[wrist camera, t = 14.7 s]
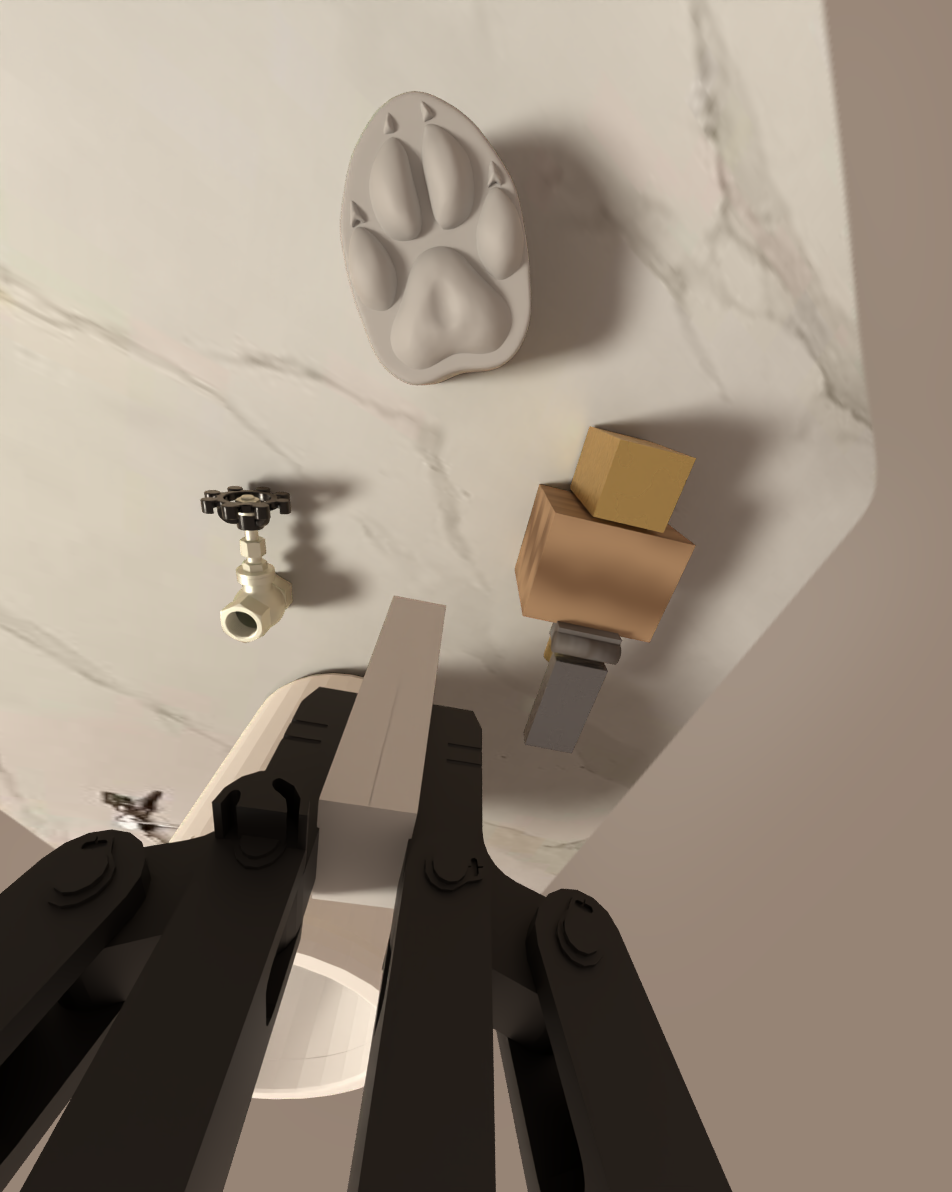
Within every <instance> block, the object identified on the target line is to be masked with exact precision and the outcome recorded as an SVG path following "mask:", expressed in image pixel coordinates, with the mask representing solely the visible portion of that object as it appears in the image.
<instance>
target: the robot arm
mask: <svg viewBox="0 0 952 1192" xmlns="http://www.w3.org/2000/svg"><path fill="white" fill-rule="evenodd" d="M445 610H446V605H441V604H435V603H430V602H425V601H420V600H414V599H409V598H404V597H399V596H394V597H393V600H392V602H391V605H390V608H389V610H388V613H387V616H386V619H385V621H384V624H383V627H382V629H381V632H380V635H379V638H378V640H377V643H376V646H375V648H374V651H373V654H372V657H371V659H370V662H369V665H368V667H367V670H366V673H365V676H364V678H363V681H362V684H361V686H360V689H359V692H358V693H354V692H348V691H342V690H336V689H330V688H325V687H318V688H317V689H316V690H315V691H313V692H312V693H311V694H310V695H308V696H307V697H306V698H305V699H303V700H302V701H301V703H300V705H299V707H298V709H297V711H296V713H295V715H294V716H293V718H292V722H291V723H290V724H289V726H288V728H287V730H286V732H285V734H284V737H283V739H281V741H280V743H279V745H278V747H277V749H276V751H275V753H274V754H273V756H272V758H271V760H270V762H269V764H268V766H267V768H266V770H265V771H258V772H255V773H252V774H248V775H245V776H242V777H240V778H239V779H237V780H235V781H234V782H232V783H231V784H229V785H227V786H226V787H224V789H223V790H222V791H221V792H220V793H219V794H218V795H217V797H216V798H215V799H214V800H213V801H212V811H213V821H214V831H213V832H211V833H209V834H206V835H204V836H201V837H197V838H193V839H189V840H184V841H178V842H172V843H166V844H160V845H154V846H148V847H143V844H142V842H141V841H140V840H139V839H137V838H136V837H135V836H134V835H132V834H131V833H129V832H123V831H118V830H105V831H99V832H92V833H88V834H86V835H83V836H81V837H78V838H76V839H73V840H71V841H69V842H66V843H64V844H63V845H61V846H60V847H58V848H57V849H55V850H54V851H52V852H51V853H49V854H48V855H46V856H45V857H44V858H42V859H41V860H40V861H39V862H37V863H36V864H35V865H34V866H33V867H31V868H30V869H29V870H28V871H27V872H25V873H24V874H23V875H22V876H21V877H20V878H18V879H17V880H16V881H15V882H14V883H12V884H11V885H10V886H9V887H8V888H7V889H5V890H4V891H3V892H2V893H1V894H0V1192H2V1191H3V1190H4V1188H5V1187H6V1186H7V1184H8V1183H9V1181H10V1180H11V1179H12V1178H13V1176H14V1175H15V1173H16V1172H17V1171H18V1169H19V1168H20V1166H21V1165H22V1164H23V1163H24V1161H25V1160H26V1159H27V1157H28V1156H29V1155H30V1153H31V1152H32V1150H33V1149H34V1148H35V1146H36V1145H37V1144H38V1142H39V1141H40V1140H41V1138H42V1137H43V1135H44V1134H45V1133H46V1132H47V1130H48V1129H49V1128H50V1126H51V1125H52V1123H53V1122H54V1121H55V1119H56V1118H57V1117H58V1115H59V1114H60V1113H61V1111H62V1110H63V1108H64V1107H65V1106H66V1105H67V1103H68V1102H69V1100H70V1099H71V1100H70V1102H69V1104H68V1105H67V1107H66V1109H65V1111H64V1113H63V1114H62V1116H61V1118H60V1120H59V1122H58V1123H57V1125H56V1127H55V1129H54V1131H53V1132H52V1134H51V1136H50V1138H49V1140H48V1142H47V1143H46V1145H45V1147H44V1149H43V1151H42V1152H41V1154H40V1156H39V1158H38V1160H37V1162H36V1163H35V1165H34V1167H33V1169H32V1171H31V1172H30V1174H29V1176H28V1178H27V1180H26V1181H25V1183H24V1185H23V1187H22V1188H21V1190H20V1192H223V1189H224V1185H225V1182H226V1179H227V1176H228V1173H229V1170H230V1166H231V1163H232V1160H233V1157H234V1153H235V1150H236V1147H237V1144H238V1140H239V1137H240V1134H241V1130H242V1127H243V1124H244V1121H245V1117H246V1114H247V1111H248V1108H249V1105H250V1102H251V1098H252V1095H253V1092H254V1089H255V1085H256V1082H257V1079H258V1076H259V1072H260V1069H261V1066H262V1063H263V1059H264V1056H265V1053H266V1050H267V1046H268V1043H269V1040H270V1037H271V1033H272V1030H273V1027H274V1024H275V1020H276V1017H277V1014H278V1011H279V1007H280V1004H281V1001H282V998H283V995H284V991H285V988H286V985H287V982H288V978H289V975H290V972H291V969H292V965H293V962H294V959H295V956H296V952H297V949H298V946H299V943H300V939H301V933H302V925H303V917H304V914H305V911H306V908H307V904H308V901H309V898H310V895H311V892H312V899H319V900H328V901H336V902H344V903H352V904H360V905H368V906H376V907H384V908H392V909H394V912H393V918H392V925H391V931H390V936H389V940H388V944H387V948H386V953H385V957H384V961H383V965H382V969H381V970H383V973H382V979H381V986H380V992H379V998H378V1004H377V1010H376V1016H375V1023H374V1029H373V1035H372V1041H371V1047H370V1054H369V1060H368V1066H367V1072H366V1078H365V1084H364V1091H363V1097H362V1103H361V1109H360V1115H359V1122H358V1128H357V1134H356V1140H355V1146H354V1153H353V1159H352V1165H351V1171H350V1178H349V1184H348V1190H347V1192H496V1183H495V1181H496V1180H495V1124H494V1067H493V1029H495V1030H496V1032H497V1036H498V1042H499V1047H500V1052H501V1057H502V1062H503V1067H504V1072H505V1077H506V1082H507V1087H508V1093H509V1097H510V1103H511V1108H512V1113H513V1118H514V1123H515V1128H516V1133H517V1138H518V1143H519V1149H520V1154H521V1159H522V1164H523V1169H524V1174H525V1179H526V1184H527V1189H528V1192H732V1190H731V1188H730V1186H729V1184H728V1181H727V1179H726V1177H725V1174H724V1172H723V1170H722V1167H721V1165H720V1163H719V1160H718V1158H717V1156H716V1153H715V1151H714V1149H713V1147H712V1144H711V1142H710V1140H709V1137H708V1135H707V1133H706V1130H705V1128H704V1126H703V1123H702V1121H701V1119H700V1117H699V1114H698V1112H697V1110H696V1107H695V1105H694V1103H693V1100H692V1098H691V1096H690V1094H689V1091H688V1089H687V1087H686V1084H685V1082H684V1080H683V1078H682V1075H681V1073H680V1071H679V1068H678V1066H677V1064H676V1061H675V1059H674V1057H673V1054H672V1052H671V1050H670V1048H669V1045H668V1043H667V1041H666V1038H665V1036H664V1034H663V1032H662V1029H661V1027H660V1025H659V1022H658V1020H657V1018H656V1015H655V1013H654V1011H653V1009H652V1006H651V1004H650V1002H649V999H648V997H647V995H646V993H645V990H644V988H643V986H642V983H641V981H640V979H639V976H638V974H637V972H636V969H635V967H634V965H633V962H632V960H631V958H630V955H629V953H628V951H627V949H626V946H625V944H624V942H623V939H622V937H621V935H620V933H619V930H618V928H617V927H616V925H615V924H614V922H613V920H612V918H611V917H610V915H609V913H608V912H607V911H606V910H605V909H604V908H603V907H602V906H601V905H600V904H599V903H598V902H597V901H596V900H595V899H594V898H592V897H590V896H588V895H586V894H584V893H582V892H580V891H578V890H572V889H560V890H557V891H555V892H552V893H550V894H548V896H547V897H545V896H543V895H541V894H539V893H537V892H535V891H533V890H531V889H529V888H527V887H525V886H523V885H521V884H519V883H517V882H515V881H514V880H512V879H511V878H509V877H508V876H506V875H505V874H504V873H503V872H502V871H501V870H500V869H499V868H498V867H497V866H496V865H495V864H494V862H493V861H492V859H491V858H490V856H489V854H488V852H487V849H486V847H485V844H484V840H483V832H482V769H481V767H482V752H481V750H482V729H481V726H480V724H479V722H478V720H477V718H476V716H475V714H474V712H473V711H469V710H463V709H457V708H451V707H445V706H439V705H433V696H434V689H435V682H436V675H437V668H438V660H439V653H440V646H441V639H442V632H443V624H444V617H445Z"/></svg>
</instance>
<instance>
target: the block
mask: <svg viewBox="0 0 952 1192" xmlns="http://www.w3.org/2000/svg"><path fill="white" fill-rule="evenodd" d="M695 546H696V545H694V544H693V543H692V542H690V541H689V540H688V539H687V538H685V537H684V536H683V535H681V534H680V533H679V532H677V531H676V530H675V529H674V528H672V527H671V526H670V525H668V524H667V526H666V528H665V531H664V533H661V532H657V531H653V530H648V529H644V528H640V527H636V526H631V525H627V524H623V523H618V522H614V521H610V520H606V519H601V518H597V517H593V516H592V515H591V513H590V512H589V511H588V510H587V509H586V507H585V506H584V505H583V504H582V502H581V501H580V500H579V499H578V498H577V496H576V495H575V494H574V493H573V492H570V491H566V490H562V489H558V488H554V487H549V486H545V485H541V484H539V488H538V491H537V494H536V498H535V501H534V505H533V508H532V512H531V515H530V518H529V522H528V525H527V529H526V532H525V536H524V539H523V542H522V546H521V549H520V553H519V556H518V560H517V563H516V566H515V574H516V579H517V585H518V591H519V597H520V602H521V608H522V614H523V616H526V617H530V618H535V619H540V620H545V621H549V622H553V624H552V627H551V630H550V633H549V634H550V637H551V651H552V652H555V653H560V654H565V655H570V656H575V657H580V658H585V659H590V660H594V661H599V662H604V663H609V664H614V665H615V664H617V663H618V661H619V659H620V656H621V646H620V644H621V642H622V640H621V638H620V636H621V637H626V638H630V639H635V640H640V641H645V642H649V643H650V640H651V638H652V636H653V634H654V632H655V630H656V628H657V626H658V624H659V622H660V619H661V617H662V615H663V613H664V611H665V609H666V607H667V605H668V603H669V601H670V598H671V596H672V594H673V592H674V590H675V588H676V586H677V584H678V582H679V580H680V578H681V575H682V573H683V571H684V569H685V567H686V565H687V563H688V561H689V559H690V557H691V554H692V552H693V550H694V548H695Z"/></svg>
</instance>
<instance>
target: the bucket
mask: <svg viewBox="0 0 952 1192" xmlns="http://www.w3.org/2000/svg"><path fill="white" fill-rule="evenodd" d="M363 678H364V677H360V676H356V675H350V674H338V673H328V674H316V675H311V676H308V677H304V678H300V679H297V680H295V681H293V682H291V683H289V684H287V685H285V686H283V687H281V688H279V689H278V690H277V691H275V692H274V693H273V694H272V695H270V696H269V697H268V698H267V699H266V701H265V702H264V703H263V704H262V706H261V707H260V708H259V710H258V711H257V713H256V714H255V716H254V717H253V719H252V720H251V722H250V723H249V725H248V726H247V728H246V729H245V731H244V732H243V733H242V735H241V736H240V738H239V739H238V741H237V742H236V744H235V745H234V747H233V748H232V750H231V751H230V753H229V754H228V756H227V757H226V759H225V760H224V762H223V763H222V765H221V766H220V767H219V769H218V770H217V772H216V773H215V775H214V776H213V778H212V779H211V781H210V782H209V784H208V785H207V787H206V788H205V790H204V791H203V793H202V794H201V796H200V797H199V799H198V800H197V802H196V803H195V804H194V806H193V807H192V809H191V810H190V812H189V813H188V815H187V816H186V818H185V819H184V821H183V822H182V824H181V825H180V827H179V828H178V830H177V831H176V833H175V834H174V836H173V837H172V838H171V840H170V841H169V843H172V842H178V841H184V840H189V839H193V838H197V837H201V836H204V835H206V834H209V833H211V832H213V831H214V821H213V811H212V801H213V800H214V799H215V798H216V797H217V795H218V794H219V793H220V792H221V791H222V790H223V789H224V787H226V786H227V785H229V784H231V783H232V782H234V781H235V780H237V779H239V778H240V777H242V776H245V775H248V774H252V773H255V772H258V771H265V770H266V768H267V766H268V764H269V762H270V760H271V758H272V756H273V754H274V753H275V751H276V749H277V747H278V745H279V743H280V741H281V739H283V737H284V734H285V732H286V730H287V728H288V726H289V724H290V723H291V722H292V718H293V716H294V715H295V713H296V711H297V709H298V707H299V705H300V703H301V701H302V700H303V699H305V698H306V697H307V696H308V695H310V694H311V693H312V692H313V691H315V690H316V689H317V688H318V687H325V688H330V689H336V690H342V691H348V692H354V693H358V692H359V689H360V686H361V684H362V681H363ZM393 912H394V909H392V908H384V907H376V906H368V905H360V904H352V903H344V902H336V901H328V900H319V899H312V892H311V895H310V898H309V901H308V904H307V908H306V911H305V914H304V917H303V925H302V933H301V939H300V943H299V946H298V949H297V952H296V956H295V959H294V962H293V965H292V969H291V972H290V975H289V978H288V982H287V985H286V988H285V991H284V995H283V998H282V1001H281V1004H280V1007H279V1011H278V1014H277V1017H276V1020H275V1024H274V1027H273V1030H272V1033H271V1037H270V1040H269V1043H268V1046H267V1050H266V1053H265V1056H264V1059H263V1063H262V1066H261V1069H260V1072H259V1076H258V1079H257V1082H256V1085H255V1089H254V1092H253V1095H252V1098H265V1099H298V1098H311V1097H320V1096H329V1095H334V1094H338V1093H343V1092H348V1091H352V1090H355V1089H358V1088H361V1087H364V1084H365V1078H366V1072H367V1066H368V1060H369V1054H370V1047H371V1041H372V1035H373V1029H374V1023H375V1016H376V1010H377V1004H378V998H379V992H380V986H381V979H382V973H383V970H381V969H382V965H383V961H384V957H385V953H386V948H387V944H388V940H389V936H390V931H391V925H392V918H393Z"/></svg>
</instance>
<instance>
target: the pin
mask: <svg viewBox="0 0 952 1192" xmlns="http://www.w3.org/2000/svg"><path fill="white" fill-rule="evenodd" d="M695 460H696V458H694V457H691V456H688V455H686V454H683V453H680V452H677V451H675V450H672V449H669V448H666V447H664V446H661V445H658V444H655V443H653V442H650V441H646V440H642V439H638V438H634V437H630V436H626V435H622V434H618V433H615V432H611V431H607V430H603V429H599V428H595V427H591V426H590V427H589V430H588V433H587V436H586V440H585V443H584V446H583V449H582V452H581V455H580V458H579V461H578V464H577V467H576V470H575V474H574V477H573V480H572V483H571V486H570V489H571V490H572V491H573V493H574V494H575V495H576V496H577V498H578V499H579V500H580V501H581V502H582V504H583V505H584V506H585V507H586V509H587V510H588V511H589V512H590V513H591V515H592V516H593V517H597V518H601V519H606V520H610V521H614V522H618V523H623V524H627V525H631V526H636V527H640V528H644V529H648V530H653V531H657V532H661V533H664V531H665V528H666V526H667V524H668V521H669V519H670V517H671V515H672V512H673V510H674V508H675V505H676V503H677V501H678V499H679V496H680V494H681V492H682V489H683V487H684V485H685V483H686V480H687V478H688V476H689V473H690V471H691V469H692V466H693V464H694V462H695ZM552 653H553V652H552V651H551V637H550V638H549V641H548V643H547V646H546V649H545V652H544V657H545V659H546V660H547V661H548V662H549V661H550V658H551V655H552Z"/></svg>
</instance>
